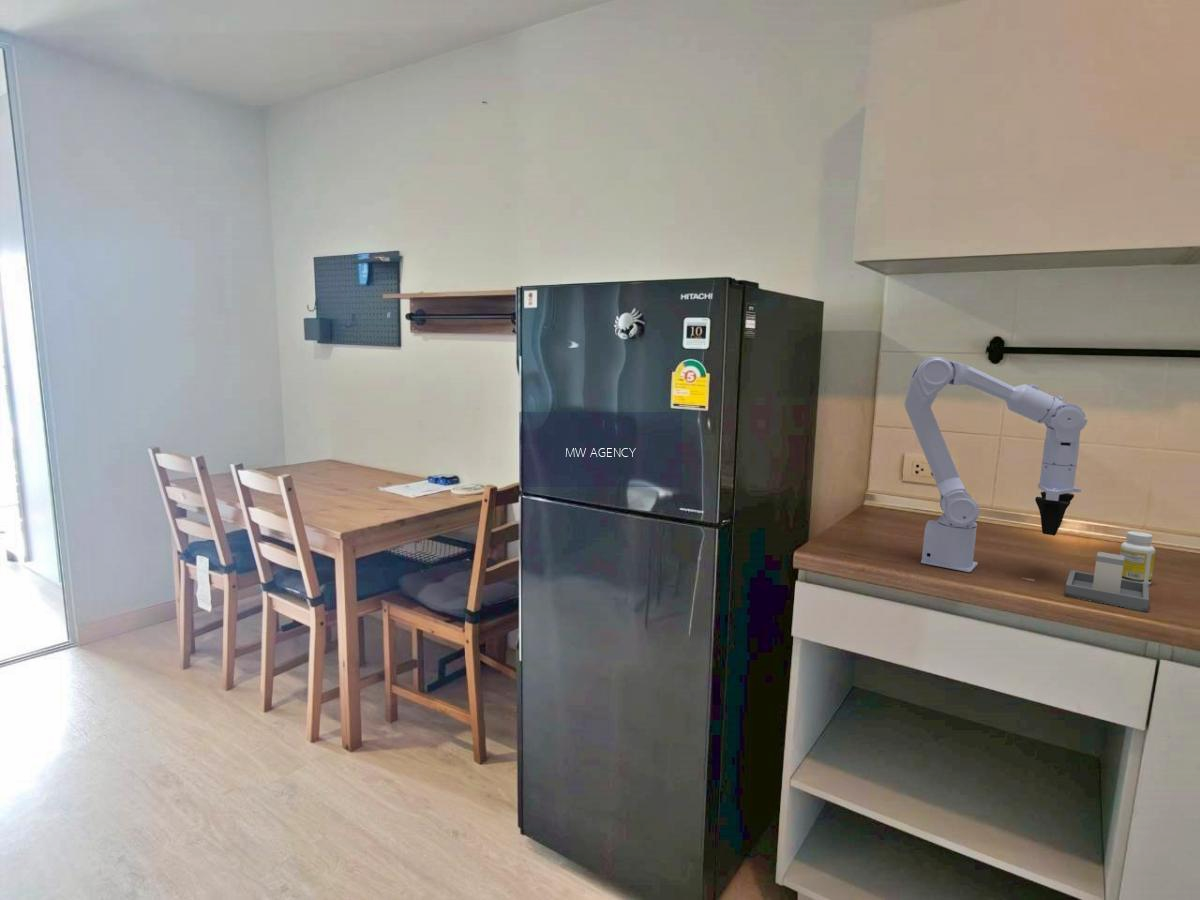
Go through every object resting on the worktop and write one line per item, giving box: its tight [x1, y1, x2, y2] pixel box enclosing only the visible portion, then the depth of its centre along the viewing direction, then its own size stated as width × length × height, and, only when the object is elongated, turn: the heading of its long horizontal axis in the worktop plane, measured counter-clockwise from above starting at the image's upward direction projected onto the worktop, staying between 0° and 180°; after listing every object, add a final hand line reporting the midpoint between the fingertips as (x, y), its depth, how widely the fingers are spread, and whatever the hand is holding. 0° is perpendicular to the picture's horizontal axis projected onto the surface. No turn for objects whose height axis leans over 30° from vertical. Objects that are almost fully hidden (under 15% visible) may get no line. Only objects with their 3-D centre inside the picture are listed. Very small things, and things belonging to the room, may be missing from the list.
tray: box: [1063, 569, 1150, 613], centre depth 126 cm, size 12×12×2 cm
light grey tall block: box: [1093, 551, 1125, 594], centre depth 125 cm, size 4×4×7 cm
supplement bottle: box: [1119, 530, 1156, 586], centre depth 135 cm, size 5×5×10 cm
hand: (1051, 530), depth 135 cm, fingers open, 7 cm apart
